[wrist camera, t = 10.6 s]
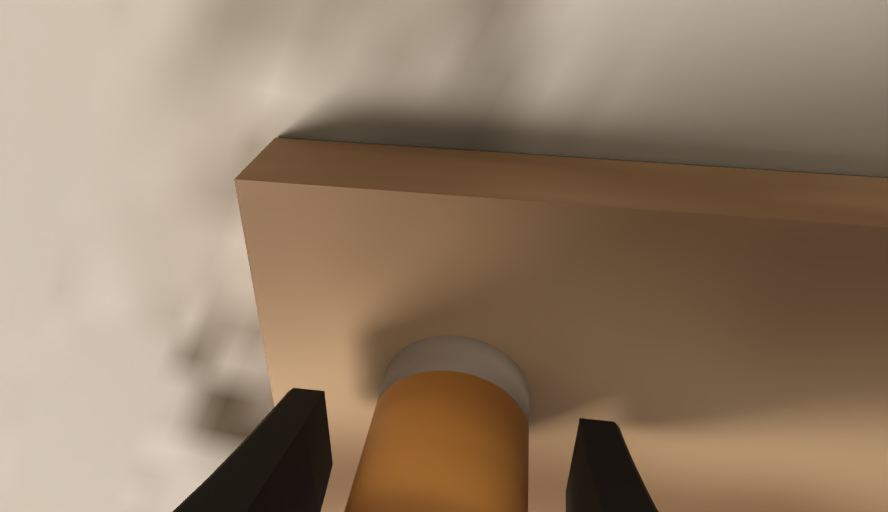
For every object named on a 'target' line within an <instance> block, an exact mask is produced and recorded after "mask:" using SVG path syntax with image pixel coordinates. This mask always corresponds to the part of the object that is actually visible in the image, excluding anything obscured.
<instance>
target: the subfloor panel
mask: <svg viewBox="0 0 888 512" xmlns="http://www.w3.org/2000/svg"><path fill="white" fill-rule="evenodd" d="M234 180H235V186H236V192H237V197H238V203H239V209H240V214H241V220H242V226H243V231H244V237H245V243H246V248H247V254H248V260H249V265H250V271H251V277H252V282H253V288H254V293H255V299H256V305H257V310H258V316H259V322H260V327H261V333H262V339H263V344H264V350H265V356H266V361H267V367H268V373H269V378H270V384H271V390H272V395H273V401H274V406H276V405H277V404H278V403H279V401H280V400H281V399H282V398H283V397H284V396H285V395H286V393H287V392H288V391H290V390H291V389H292V388H301V389H310V390H320V391H325V400H326V409H327V417H328V426H329V435H330V443H331V452H332V461H333V466H332V470H331V474H330V478H329V482H328V486H327V490H326V494H325V497H324V501H323V505H322V508H321V512H344V511H345V508H346V504H347V501H348V498H349V494H350V491H351V488H352V484H353V481H354V477H355V474H356V471H357V467H358V464H359V461H360V457H361V454H362V451H363V447H364V444H365V441H366V437H367V434H368V431H369V427H370V424H371V421H372V417H373V414H374V410H375V407H376V404H377V400H378V397H379V394H380V390H381V387H382V384H383V380H384V377H385V374H386V371H387V368H388V366H389V364H390V362H391V361H392V359H393V358H394V357H395V356H396V355H397V354H398V353H399V352H400V351H401V350H403V349H404V348H405V347H407V346H409V345H410V344H412V343H414V342H417V341H419V340H422V339H426V338H429V337H435V336H446V335H451V336H463V337H469V338H473V339H477V340H480V341H483V342H486V343H488V344H490V345H492V346H494V347H496V348H498V349H499V350H501V351H503V352H504V353H505V354H507V355H508V356H509V357H510V358H511V359H512V360H513V361H514V362H515V363H516V364H517V365H518V366H519V368H520V369H521V370H522V372H523V374H524V376H525V378H526V380H527V383H528V388H529V469H528V512H566V487H567V482H568V477H569V471H570V466H571V461H572V456H573V451H574V445H575V440H576V435H577V430H578V425H579V419H580V418H585V419H594V420H604V421H613V422H615V423H616V424H617V425H618V426H619V428H620V430H621V433H622V436H623V438H624V441H625V443H626V445H627V448H628V450H629V452H630V455H631V457H632V459H633V461H634V463H635V466H636V468H637V470H638V472H639V474H640V476H641V478H642V480H643V482H644V485H645V487H646V489H647V491H648V493H649V495H650V497H651V499H652V501H653V502H654V504H655V506H656V508H657V510H658V512H888V178H880V177H865V176H850V175H834V174H819V173H804V172H789V171H774V170H758V169H743V168H728V167H713V166H698V165H683V164H667V163H652V162H637V161H622V160H607V159H591V158H576V157H561V156H546V155H531V154H516V153H500V152H485V151H470V150H455V149H440V148H425V147H409V146H394V145H379V144H364V143H349V142H333V141H318V140H303V139H288V138H274V139H273V141H272V142H271V143H270V144H269V145H268V146H267V147H266V148H265V149H264V150H263V151H262V152H261V153H260V154H259V155H258V156H257V157H256V158H255V159H254V160H253V161H252V162H251V163H250V164H249V165H248V166H247V167H246V168H245V169H244V170H243V171H242V172H241V173H240V174H239V175H238V176H237V177H236V178H235V179H234Z"/></svg>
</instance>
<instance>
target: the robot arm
mask: <svg viewBox="0 0 888 512" xmlns="http://www.w3.org/2000/svg"><path fill="white" fill-rule="evenodd" d="M332 466H333V461H332V452H331V443H330V435H329V426H328V417H327V409H326V400H325V391H320V390H310V389H301V388H292V389H291V390H290V391H288V392H287V393H286V395H285V396H284V397H283V398H282V399H281V400H280V401H279V403H278V404H277V405H276V406H275V407H274V408H273V409H272V411H271V412H270V413H269V414H268V415H267V416H266V417H265V418H264V419H263V421H262V422H261V423H260V424H259V425H258V426H257V427H256V428H255V429H254V430H253V432H252V433H251V434H250V435H249V436H248V437H247V438H246V439H245V440H244V441H243V442H242V443H241V445H240V446H239V447H238V448H237V449H236V450H235V451H234V452H233V453H232V454H231V455H230V456H229V457H228V458H227V459H226V460H225V461H224V462H223V463H222V464H221V465H220V466H219V467H218V468H217V469H216V470H215V471H214V472H213V473H212V474H211V475H210V476H209V477H208V478H207V479H206V480H205V481H204V482H203V483H202V484H201V485H200V486H199V487H198V488H197V489H196V490H195V491H194V492H193V493H192V494H191V495H190V496H189V497H188V498H187V499H185V500H184V501H183V502H182V503H181V504H180V505H179V506H178V507H177V508H176V509H175V510H174V511H173V512H321V508H322V505H323V501H324V497H325V494H326V490H327V486H328V482H329V478H330V474H331V470H332ZM566 512H658V510H657V508H656V506H655V504H654V502H653V501H652V499H651V497H650V495H649V493H648V491H647V489H646V487H645V485H644V482H643V480H642V478H641V476H640V474H639V472H638V470H637V468H636V466H635V463H634V461H633V459H632V457H631V455H630V452H629V450H628V448H627V445H626V443H625V441H624V438H623V436H622V433H621V430H620V428H619V426H618V425H617V424H616V423H615V422H613V421H604V420H594V419H585V418H580V419H579V425H578V430H577V435H576V440H575V445H574V451H573V456H572V461H571V466H570V471H569V477H568V482H567V487H566Z"/></svg>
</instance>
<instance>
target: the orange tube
mask: <svg viewBox="0 0 888 512" xmlns="http://www.w3.org/2000/svg"><path fill="white" fill-rule="evenodd" d="M528 469H529V388H528V383H527V380H526V378H525V376H524V374H523V372H522V370H521V369H520V368H519V366H518V365H517V364H516V363H515V362H514V361H513V360H512V359H511V358H510V357H509V356H508V355H507V354H505V353H504V352H503V351H501V350H499V349H498V348H496V347H494V346H492V345H490V344H488V343H486V342H483V341H480V340H477V339H473V338H469V337H463V336H451V335H446V336H435V337H429V338H426V339H422V340H419V341H417V342H414V343H412V344H410V345H409V346H407V347H405V348H404V349H403V350H401V351H400V352H399V353H398V354H397V355H396V356H395V357H394V358H393V359H392V361H391V362H390V364H389V366H388V368H387V371H386V374H385V377H384V380H383V384H382V387H381V390H380V394H379V397H378V400H377V404H376V407H375V410H374V414H373V417H372V421H371V424H370V427H369V431H368V434H367V437H366V441H365V444H364V447H363V451H362V454H361V457H360V461H359V464H358V467H357V471H356V474H355V477H354V481H353V484H352V488H351V491H350V494H349V498H348V501H347V504H346V508H345V511H344V512H528Z"/></svg>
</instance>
